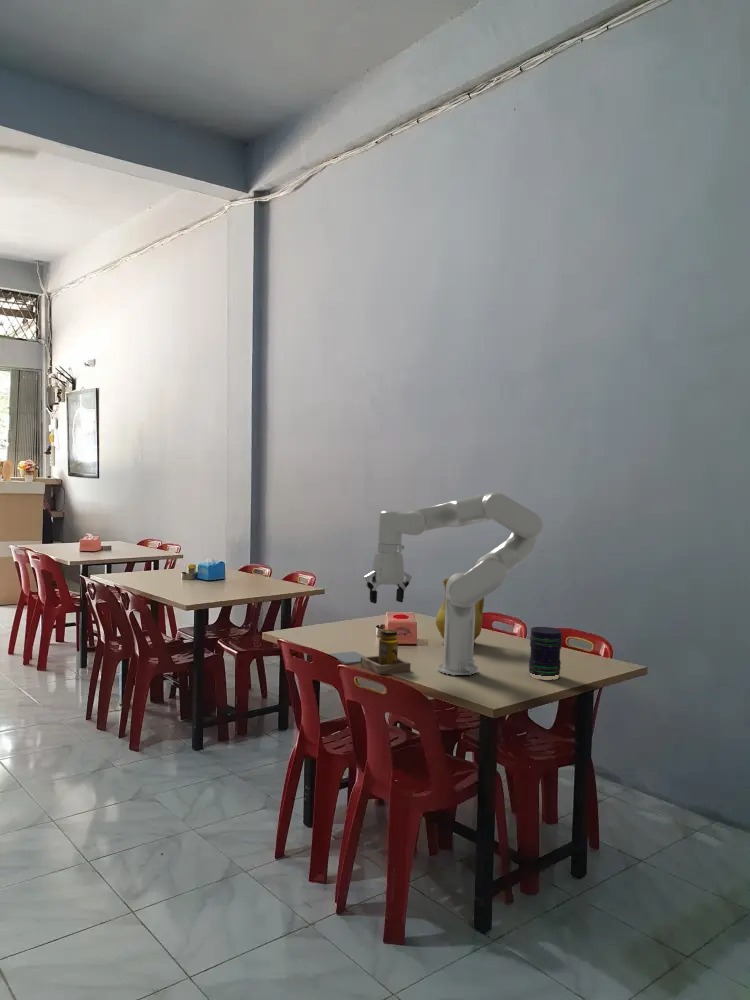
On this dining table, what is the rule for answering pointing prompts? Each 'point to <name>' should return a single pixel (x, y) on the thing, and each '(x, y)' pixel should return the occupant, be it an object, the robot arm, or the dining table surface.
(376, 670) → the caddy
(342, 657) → the mat
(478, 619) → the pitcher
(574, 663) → the dining table surface
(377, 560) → the robot arm
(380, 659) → the condiment
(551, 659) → the storage jar
